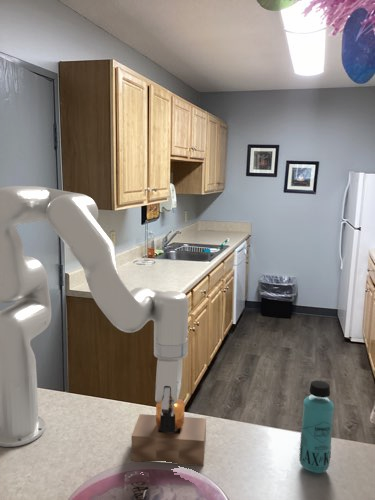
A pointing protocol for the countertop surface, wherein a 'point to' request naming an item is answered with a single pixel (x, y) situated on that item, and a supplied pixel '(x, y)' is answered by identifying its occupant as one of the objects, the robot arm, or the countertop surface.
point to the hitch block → (169, 441)
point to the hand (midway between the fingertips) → (169, 421)
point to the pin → (177, 411)
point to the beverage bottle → (316, 428)
